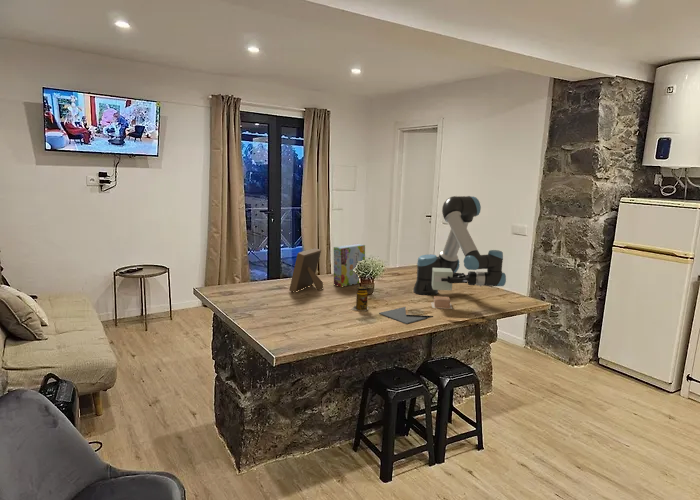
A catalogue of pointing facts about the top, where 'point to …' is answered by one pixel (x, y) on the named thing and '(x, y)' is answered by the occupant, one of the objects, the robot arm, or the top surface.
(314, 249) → the photo frame
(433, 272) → the pale sage matte cube
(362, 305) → the condiment
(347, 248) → the snack box
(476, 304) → the top surface
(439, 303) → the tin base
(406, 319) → the rubber mat
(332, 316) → the top surface
